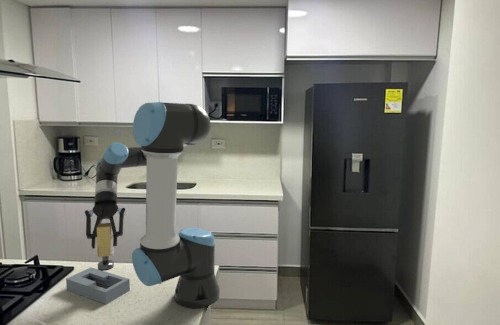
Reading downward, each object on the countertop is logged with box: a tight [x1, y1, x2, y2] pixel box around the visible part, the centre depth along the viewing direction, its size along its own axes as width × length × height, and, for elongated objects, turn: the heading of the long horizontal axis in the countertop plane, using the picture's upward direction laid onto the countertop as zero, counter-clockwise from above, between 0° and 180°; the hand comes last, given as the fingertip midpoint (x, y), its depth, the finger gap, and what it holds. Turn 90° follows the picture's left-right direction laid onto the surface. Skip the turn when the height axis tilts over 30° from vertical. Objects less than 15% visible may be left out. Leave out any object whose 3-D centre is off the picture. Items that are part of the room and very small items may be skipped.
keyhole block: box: [65, 266, 131, 305], centre depth 115 cm, size 20×10×4 cm, turn 64°
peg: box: [97, 222, 115, 272], centre depth 112 cm, size 5×5×15 cm
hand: (104, 256), depth 109 cm, fingers closed on peg, 4 cm apart
